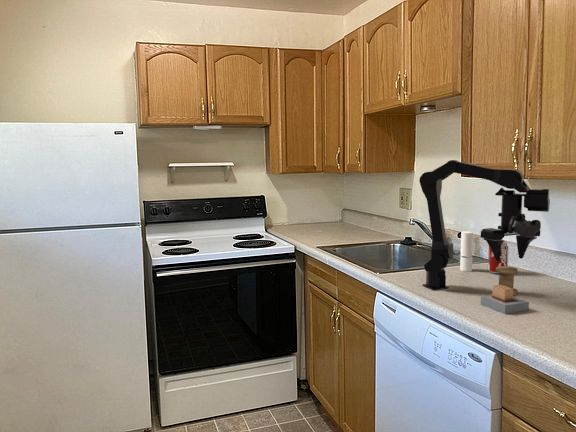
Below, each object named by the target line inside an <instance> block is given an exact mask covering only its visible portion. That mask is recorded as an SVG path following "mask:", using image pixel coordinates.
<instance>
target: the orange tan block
mask: <svg viewBox="0 0 576 432" xmlns="http://www.w3.org/2000/svg"><path fill="white" fill-rule="evenodd" d="M491 288H492V289H491V298H494V299H496V300H499V301H502V302H504V303H509V302H513V297H514V295H513V288H514V287H513V288H510V287H507V286H504V285H501V284H500V285H499V284H494V285H492V287H491Z"/></svg>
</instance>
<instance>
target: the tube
mask: <svg viewBox="0 0 576 432" xmlns="http://www.w3.org/2000/svg"><path fill="white" fill-rule="evenodd" d="M460 233H461V234H460V235H461V236H460V260H459V261H460V266H459V270H460V271H462V272H472V271H473V253H474V251H473V250H474V249H473V248H474V247H473V246H474V245H473V244H474V243H473V242H474V232H473V231H467V230H465V231H461V232H460Z"/></svg>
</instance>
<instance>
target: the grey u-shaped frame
mask: <svg viewBox="0 0 576 432" xmlns="http://www.w3.org/2000/svg"><path fill="white" fill-rule="evenodd" d="M480 305H482V306H484V307H486V308H489V309H492V310H494V311H496V312H498V313H499V312H500V313H501V314H503V315H506V314H507V315H508V314H514V313H522V312H527V311H529V305H530V301H527V300H525V299H521V298H519V297H516V296H513V302H509V303H504V302H502V301H499V300H496V299H494V298H492V296H488V295H481V296H480Z"/></svg>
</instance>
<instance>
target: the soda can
mask: <svg viewBox="0 0 576 432" xmlns="http://www.w3.org/2000/svg"><path fill="white" fill-rule="evenodd" d="M508 261H509V246H508V243H507V241H506V240H504V242H503V243H502V245H501V254H500V261H496V259H495V257H494V255H493V252H492V250H491V248H490V246H489V245H488V264H487V271H488V272H490V273H491V274H494V275H499V272H497V271H496V267H499V266H507V267H509V266H508V265H509V264H508V263H509V262H508Z"/></svg>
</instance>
